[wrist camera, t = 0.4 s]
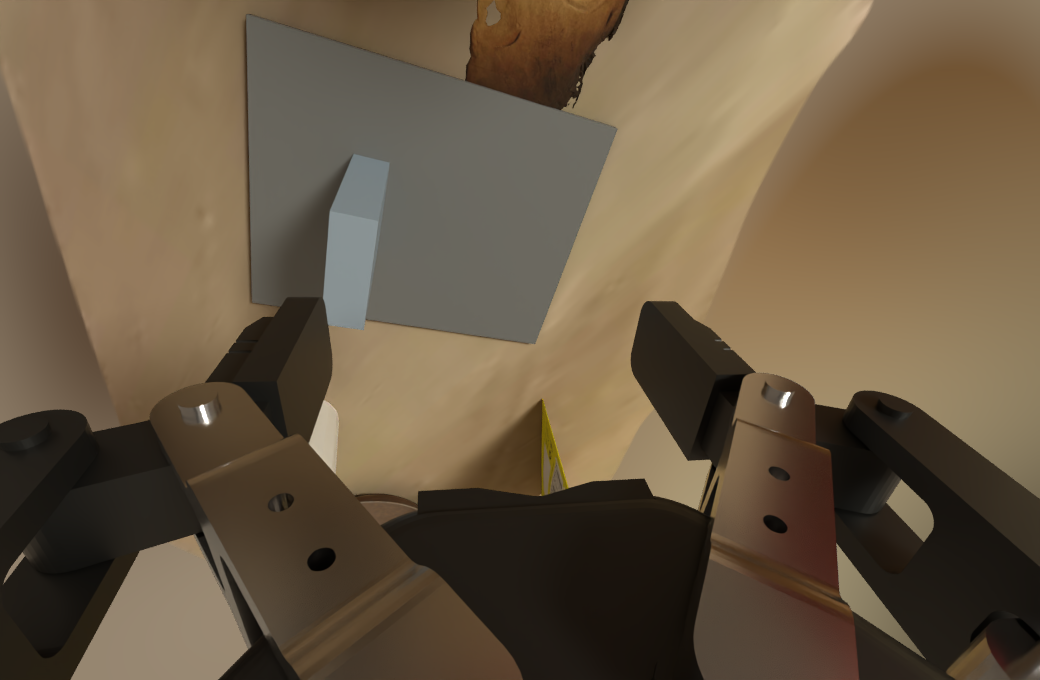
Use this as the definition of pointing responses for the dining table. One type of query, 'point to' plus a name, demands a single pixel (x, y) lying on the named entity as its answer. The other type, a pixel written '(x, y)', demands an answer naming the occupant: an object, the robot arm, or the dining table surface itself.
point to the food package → (550, 460)
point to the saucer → (386, 506)
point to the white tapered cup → (326, 435)
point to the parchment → (540, 46)
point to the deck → (354, 241)
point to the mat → (414, 183)
